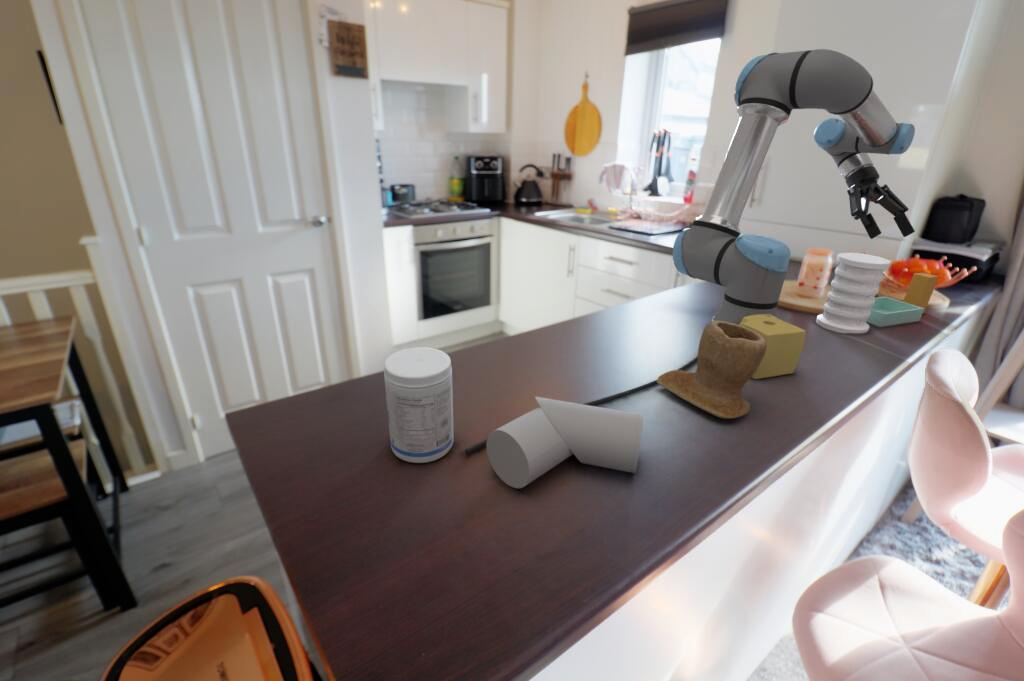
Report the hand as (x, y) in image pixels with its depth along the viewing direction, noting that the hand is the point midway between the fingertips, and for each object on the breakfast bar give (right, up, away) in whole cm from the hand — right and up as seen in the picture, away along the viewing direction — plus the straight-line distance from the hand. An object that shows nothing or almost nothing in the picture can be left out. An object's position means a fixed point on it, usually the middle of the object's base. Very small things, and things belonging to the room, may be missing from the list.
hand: (893, 235), depth 133 cm
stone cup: (-71, -41, -45) cm, 93 cm away
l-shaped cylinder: (-98, -48, -63) cm, 126 cm away
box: (-6, -23, -3) cm, 24 cm away
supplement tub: (-120, -46, -60) cm, 142 cm away
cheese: (-55, -35, -32) cm, 72 cm away
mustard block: (+7, -21, +2) cm, 23 cm away
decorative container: (-21, -26, -9) cm, 34 cm away
